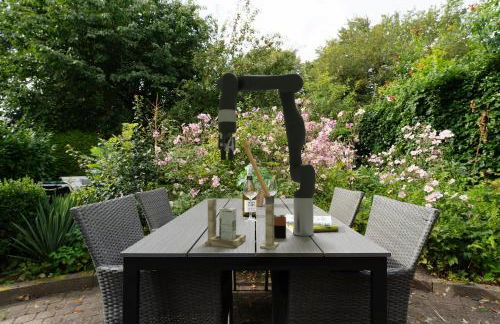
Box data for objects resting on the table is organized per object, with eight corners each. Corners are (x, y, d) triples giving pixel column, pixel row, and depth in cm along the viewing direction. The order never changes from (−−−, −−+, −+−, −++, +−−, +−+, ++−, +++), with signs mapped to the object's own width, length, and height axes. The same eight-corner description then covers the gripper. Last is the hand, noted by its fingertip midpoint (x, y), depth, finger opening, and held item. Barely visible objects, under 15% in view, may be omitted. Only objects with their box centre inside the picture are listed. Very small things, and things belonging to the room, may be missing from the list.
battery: (285, 238, 140) (285, 216, 140) (270, 238, 140) (270, 215, 141) (286, 236, 144) (286, 214, 144) (271, 236, 145) (271, 214, 145)
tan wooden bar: (244, 142, 132) (247, 140, 131) (270, 200, 128) (274, 199, 128) (241, 141, 128) (245, 139, 128) (268, 201, 124) (272, 199, 124)
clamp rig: (214, 238, 139) (214, 193, 140) (280, 243, 131) (280, 194, 131) (202, 245, 128) (202, 195, 128) (274, 250, 119) (273, 197, 120)
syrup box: (223, 241, 135) (223, 207, 135) (236, 242, 133) (236, 207, 133) (218, 244, 129) (218, 208, 129) (232, 245, 128) (232, 209, 128)
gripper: (229, 118, 124) (229, 160, 124) (241, 123, 138) (241, 160, 137) (212, 119, 126) (212, 160, 126) (225, 124, 140) (225, 161, 140)
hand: (227, 160), depth 132 cm, fingers open, 8 cm apart
